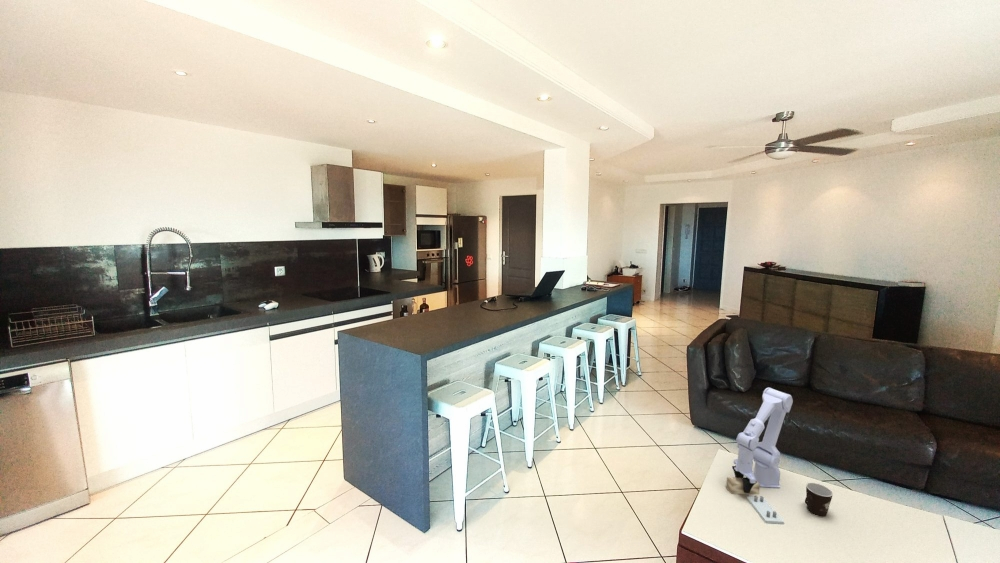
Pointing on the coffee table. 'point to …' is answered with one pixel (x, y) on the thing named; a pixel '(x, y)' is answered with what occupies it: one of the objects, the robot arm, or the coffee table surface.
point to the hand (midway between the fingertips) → (742, 487)
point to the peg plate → (765, 510)
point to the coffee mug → (818, 499)
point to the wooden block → (740, 486)
